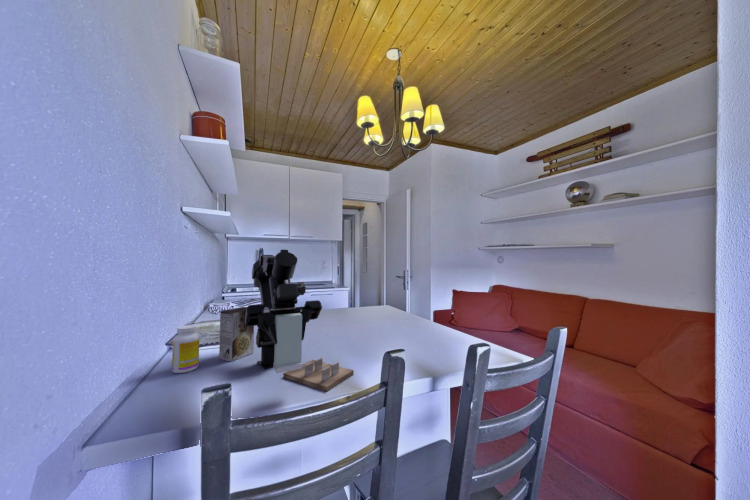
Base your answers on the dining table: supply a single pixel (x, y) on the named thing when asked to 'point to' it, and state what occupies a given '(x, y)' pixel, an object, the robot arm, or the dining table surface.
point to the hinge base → (319, 374)
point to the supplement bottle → (185, 350)
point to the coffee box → (235, 335)
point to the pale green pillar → (288, 342)
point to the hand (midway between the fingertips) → (289, 341)
